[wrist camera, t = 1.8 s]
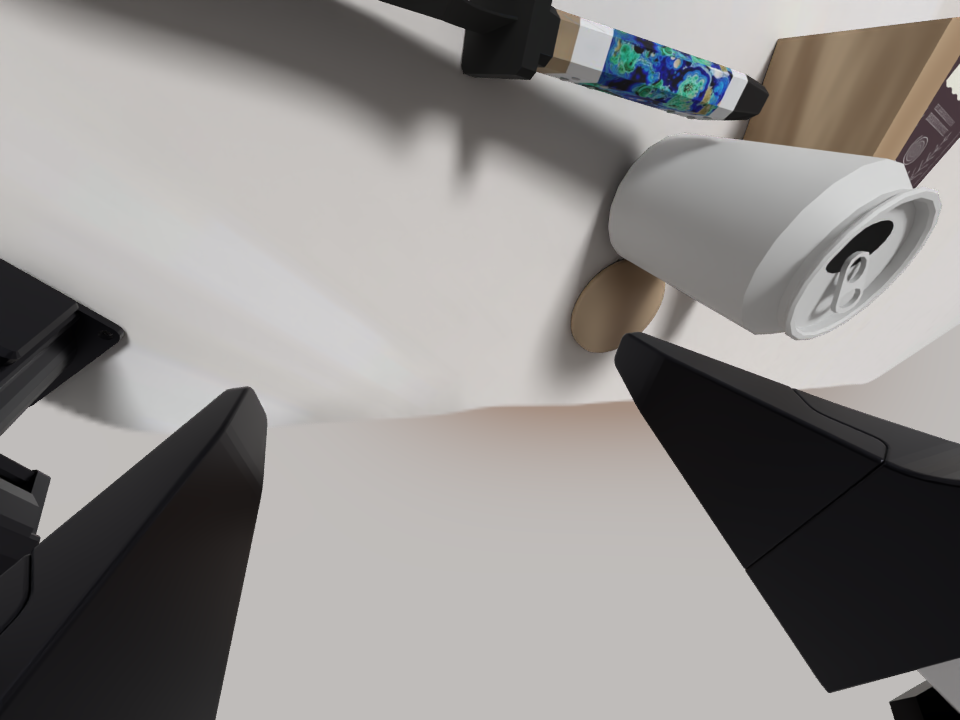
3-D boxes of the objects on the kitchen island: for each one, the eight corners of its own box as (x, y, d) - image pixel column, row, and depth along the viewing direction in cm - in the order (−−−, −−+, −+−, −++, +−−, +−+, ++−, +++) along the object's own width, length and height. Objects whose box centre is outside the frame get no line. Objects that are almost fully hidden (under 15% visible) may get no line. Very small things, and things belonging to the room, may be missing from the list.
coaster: (585, 365, 30) (588, 368, 29) (558, 300, 24) (561, 303, 24) (664, 313, 29) (668, 316, 29) (654, 235, 24) (659, 237, 23)
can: (711, 111, 20) (1023, 130, 11) (691, 232, 25) (892, 313, 16) (598, 159, 19) (826, 221, 10) (601, 273, 24) (756, 380, 15)
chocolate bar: (832, 210, 28) (1102, -134, 18) (819, 207, 28) (1073, -126, 19) (876, 232, 32) (1117, -43, 22) (864, 229, 32) (1093, -39, 23)
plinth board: (694, 275, 27) (779, 317, 22) (778, 39, 19) (952, 17, 13) (714, 270, 28) (802, 310, 23) (805, 36, 19) (984, 15, 14)
